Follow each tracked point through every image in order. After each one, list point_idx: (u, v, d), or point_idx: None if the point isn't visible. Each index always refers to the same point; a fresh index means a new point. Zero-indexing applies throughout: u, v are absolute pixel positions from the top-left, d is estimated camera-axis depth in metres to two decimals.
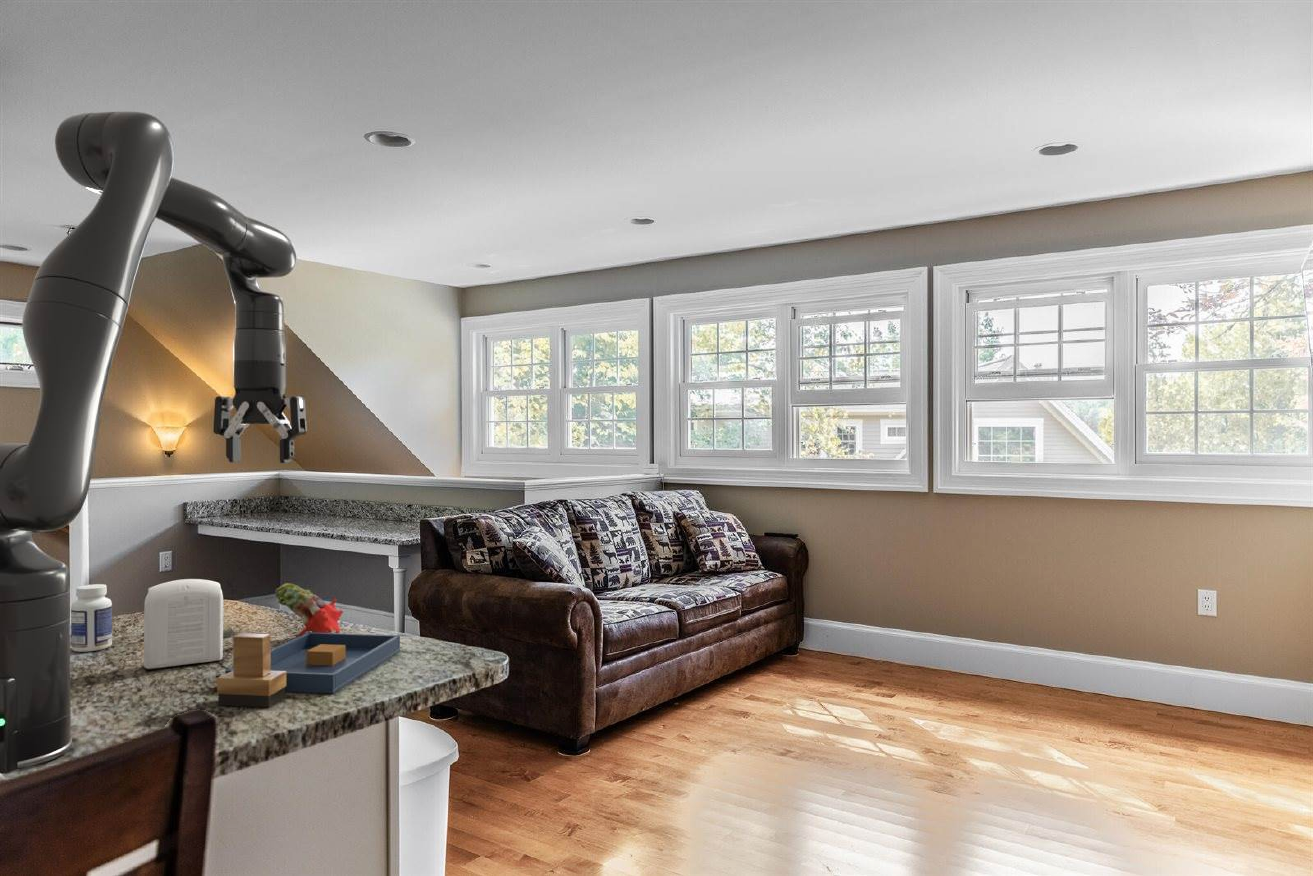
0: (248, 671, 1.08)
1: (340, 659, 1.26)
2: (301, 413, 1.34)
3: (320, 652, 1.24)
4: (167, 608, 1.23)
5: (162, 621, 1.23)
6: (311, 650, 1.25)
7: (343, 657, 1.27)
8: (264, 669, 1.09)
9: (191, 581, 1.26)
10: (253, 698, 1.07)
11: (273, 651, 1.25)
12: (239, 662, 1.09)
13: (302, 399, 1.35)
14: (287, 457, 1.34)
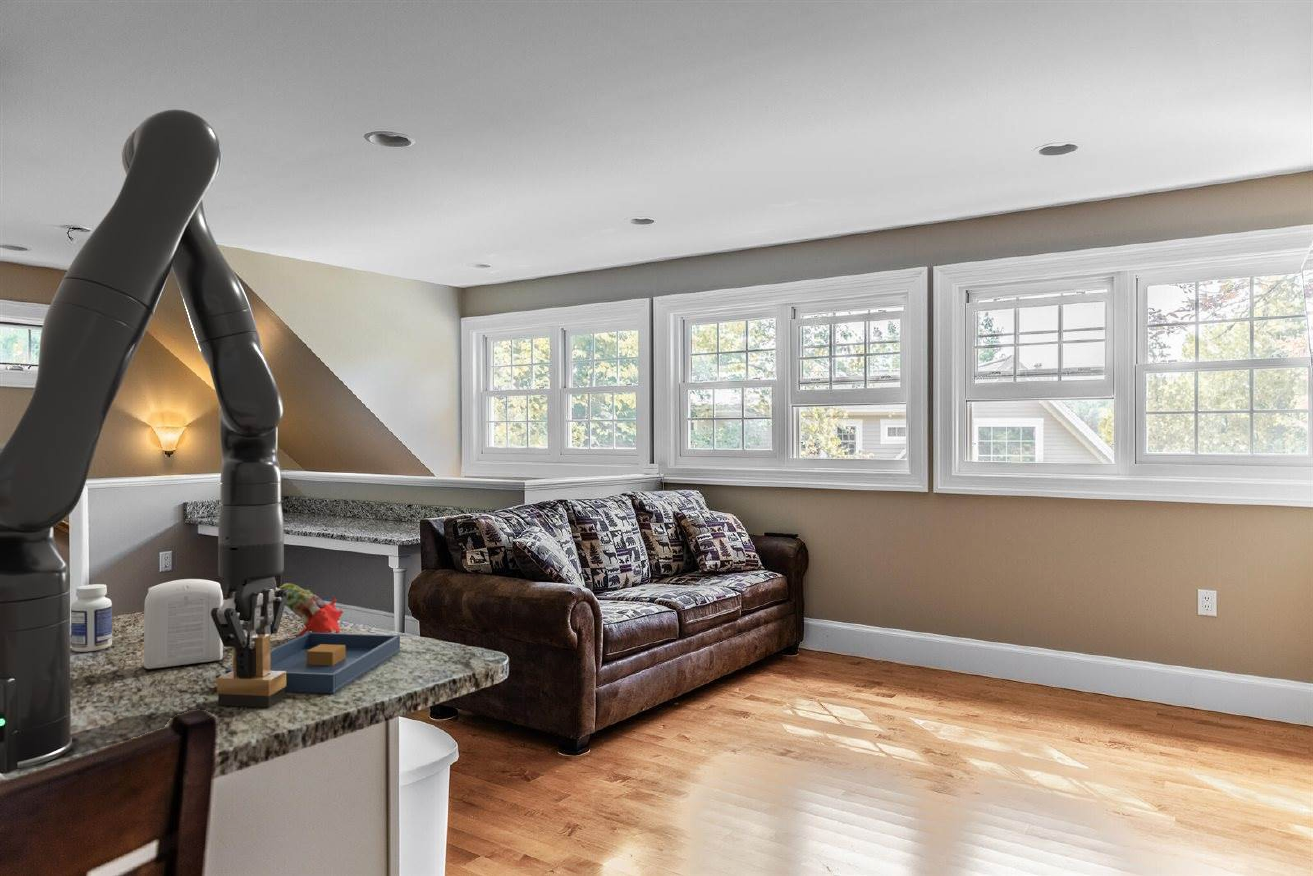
0: None
1: (340, 659, 1.26)
2: (224, 629, 1.04)
3: (320, 652, 1.24)
4: (167, 608, 1.23)
5: (162, 621, 1.23)
6: (311, 650, 1.25)
7: (343, 657, 1.27)
8: (264, 669, 1.09)
9: (191, 581, 1.26)
10: (253, 698, 1.07)
11: (273, 651, 1.25)
12: None
13: (224, 615, 1.03)
14: None
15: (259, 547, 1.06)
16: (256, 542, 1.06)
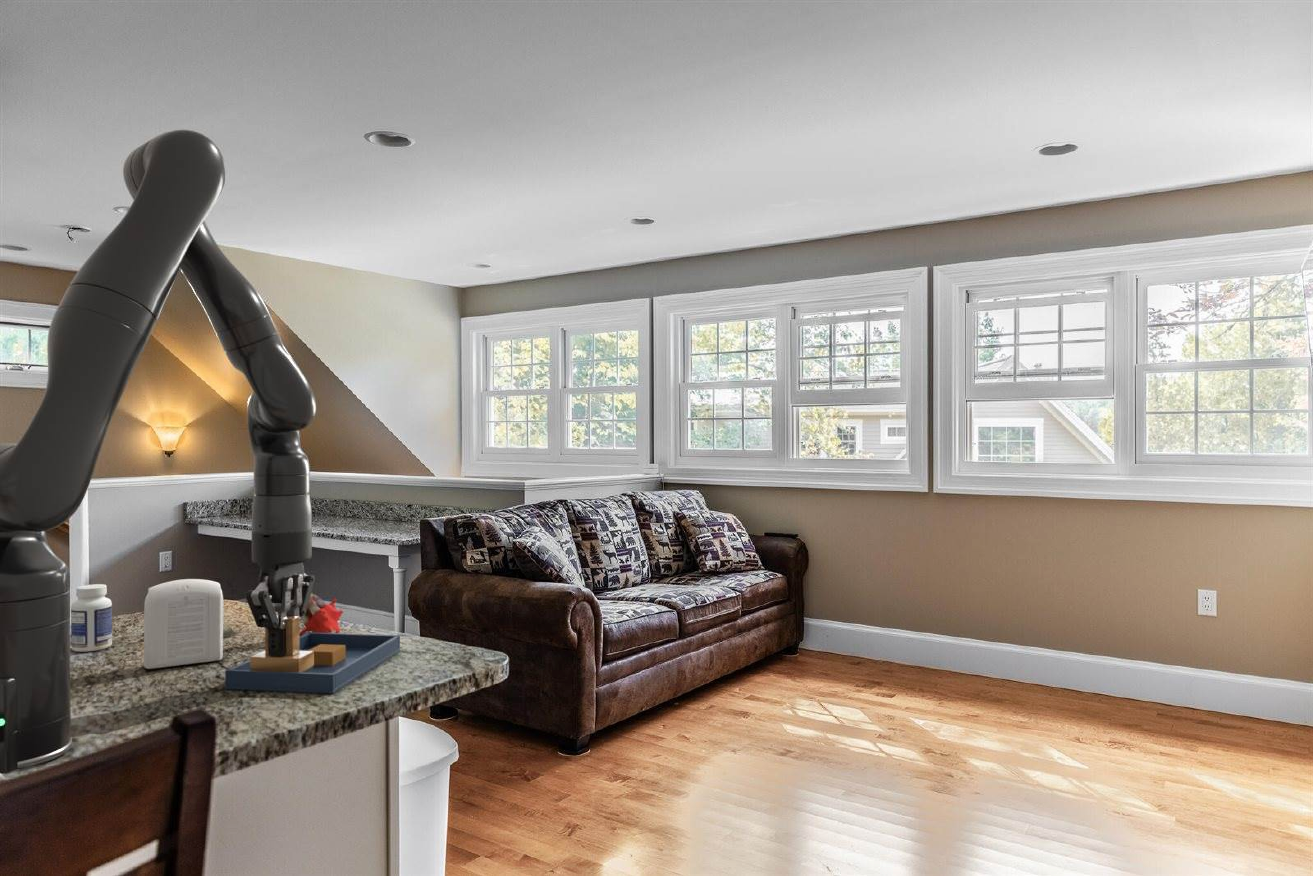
0: None
1: (340, 659, 1.26)
2: (258, 610, 1.12)
3: (320, 652, 1.24)
4: (167, 608, 1.23)
5: (162, 621, 1.23)
6: (311, 650, 1.25)
7: (343, 657, 1.27)
8: (294, 649, 1.16)
9: (191, 581, 1.26)
10: None
11: None
12: None
13: (258, 597, 1.11)
14: None
15: (290, 534, 1.14)
16: (287, 530, 1.14)
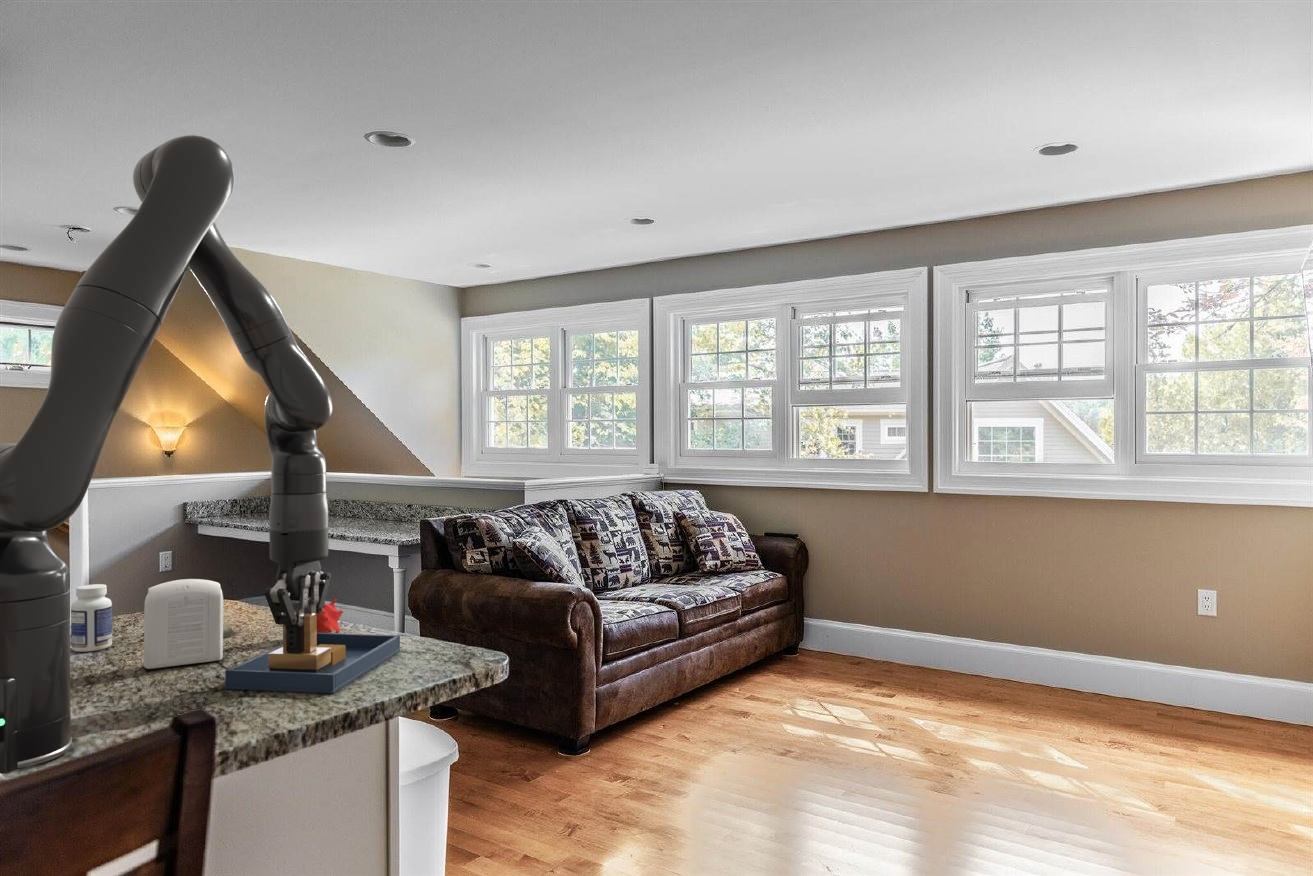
0: None
1: (340, 659, 1.26)
2: (277, 607, 1.13)
3: None
4: (167, 608, 1.23)
5: (162, 621, 1.23)
6: None
7: (343, 657, 1.27)
8: (311, 645, 1.18)
9: (191, 581, 1.26)
10: None
11: None
12: None
13: (277, 594, 1.12)
14: None
15: (307, 532, 1.15)
16: (305, 528, 1.15)
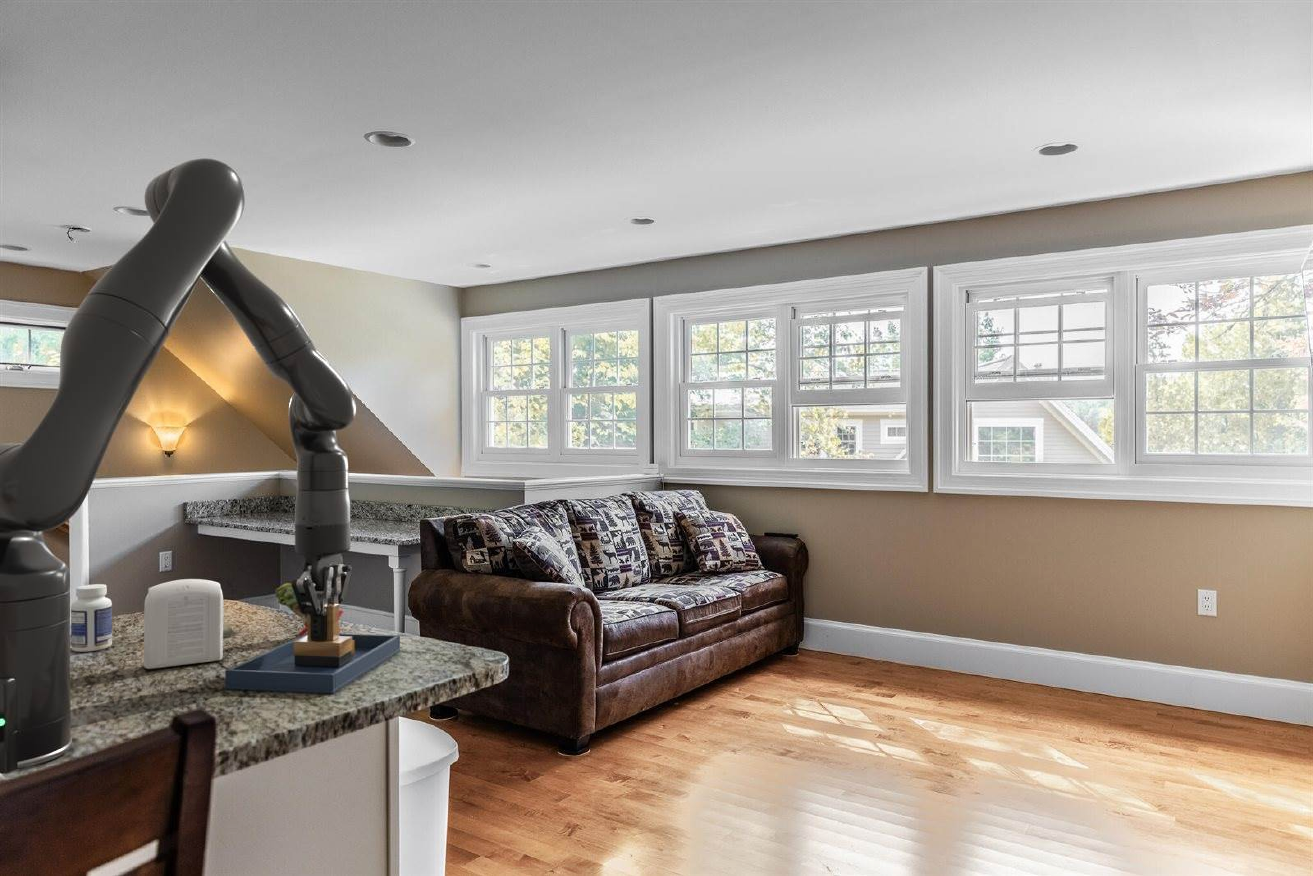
0: None
1: None
2: (302, 597, 1.20)
3: None
4: (167, 608, 1.23)
5: (162, 621, 1.23)
6: None
7: (352, 652, 1.30)
8: (334, 634, 1.24)
9: (191, 581, 1.26)
10: (325, 659, 1.23)
11: (273, 651, 1.25)
12: None
13: (303, 585, 1.19)
14: None
15: (331, 527, 1.22)
16: (329, 522, 1.22)
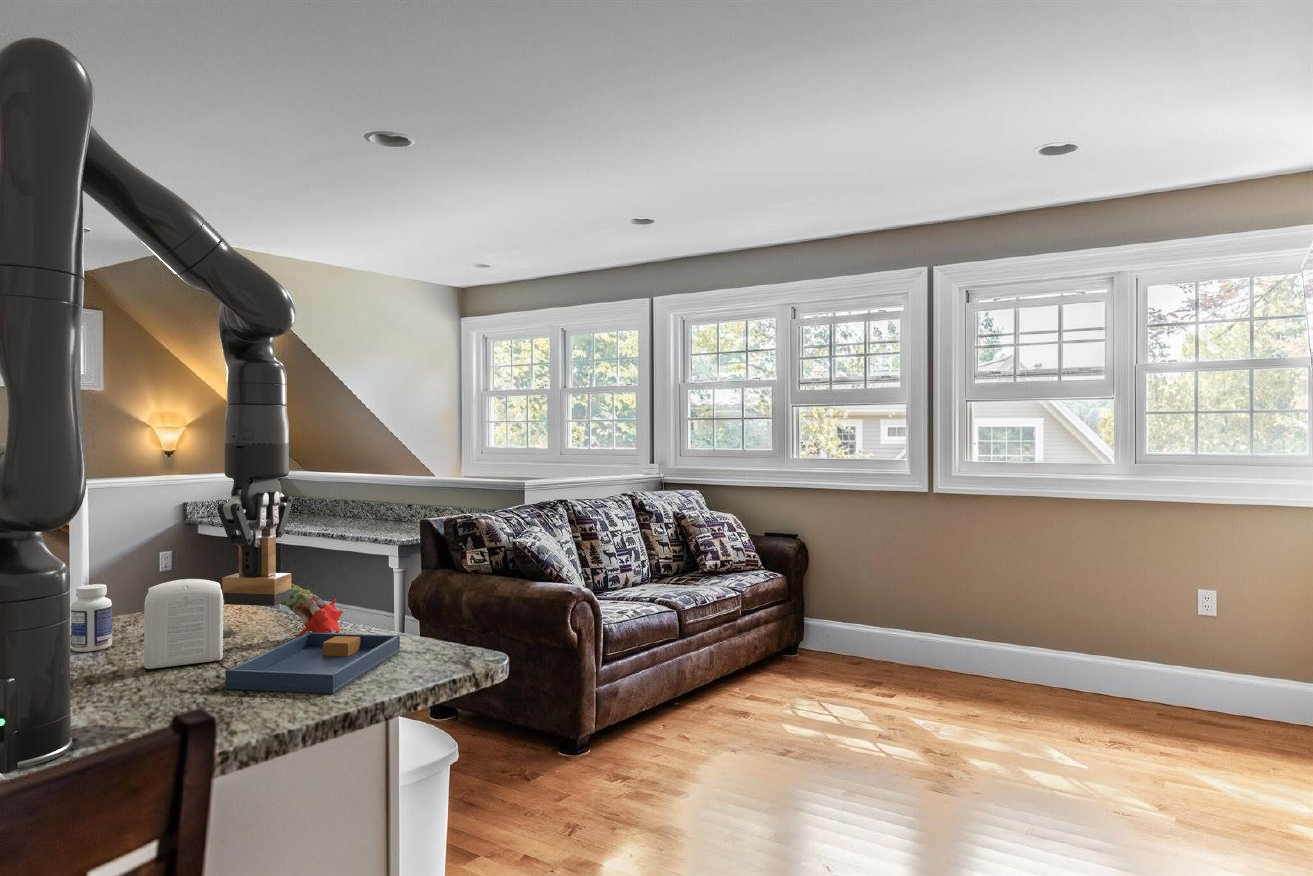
0: None
1: (355, 650, 1.31)
2: (231, 525, 1.05)
3: (336, 643, 1.29)
4: (167, 608, 1.23)
5: (162, 621, 1.23)
6: (327, 641, 1.30)
7: (358, 648, 1.32)
8: (269, 569, 1.10)
9: (191, 581, 1.26)
10: (258, 597, 1.08)
11: (273, 651, 1.25)
12: None
13: (230, 510, 1.04)
14: None
15: (265, 446, 1.07)
16: (262, 441, 1.07)
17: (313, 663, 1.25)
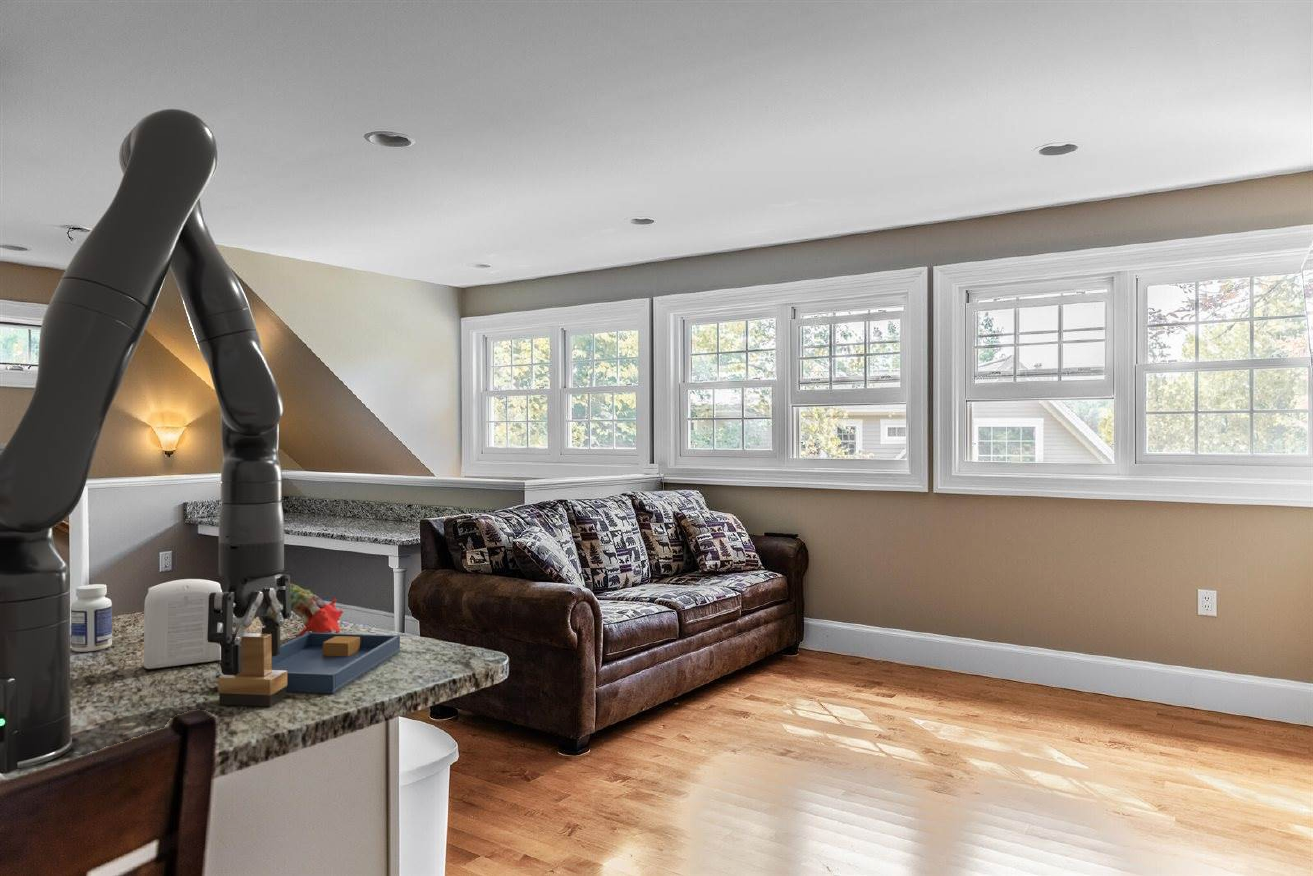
0: (249, 670, 1.09)
1: (355, 650, 1.31)
2: (216, 615, 1.02)
3: (336, 643, 1.29)
4: (167, 608, 1.23)
5: (162, 621, 1.23)
6: (327, 641, 1.30)
7: (358, 648, 1.32)
8: (265, 668, 1.09)
9: (191, 581, 1.26)
10: (254, 698, 1.08)
11: None
12: None
13: (222, 597, 1.02)
14: None
15: (259, 546, 1.06)
16: (256, 541, 1.06)
17: (313, 663, 1.25)
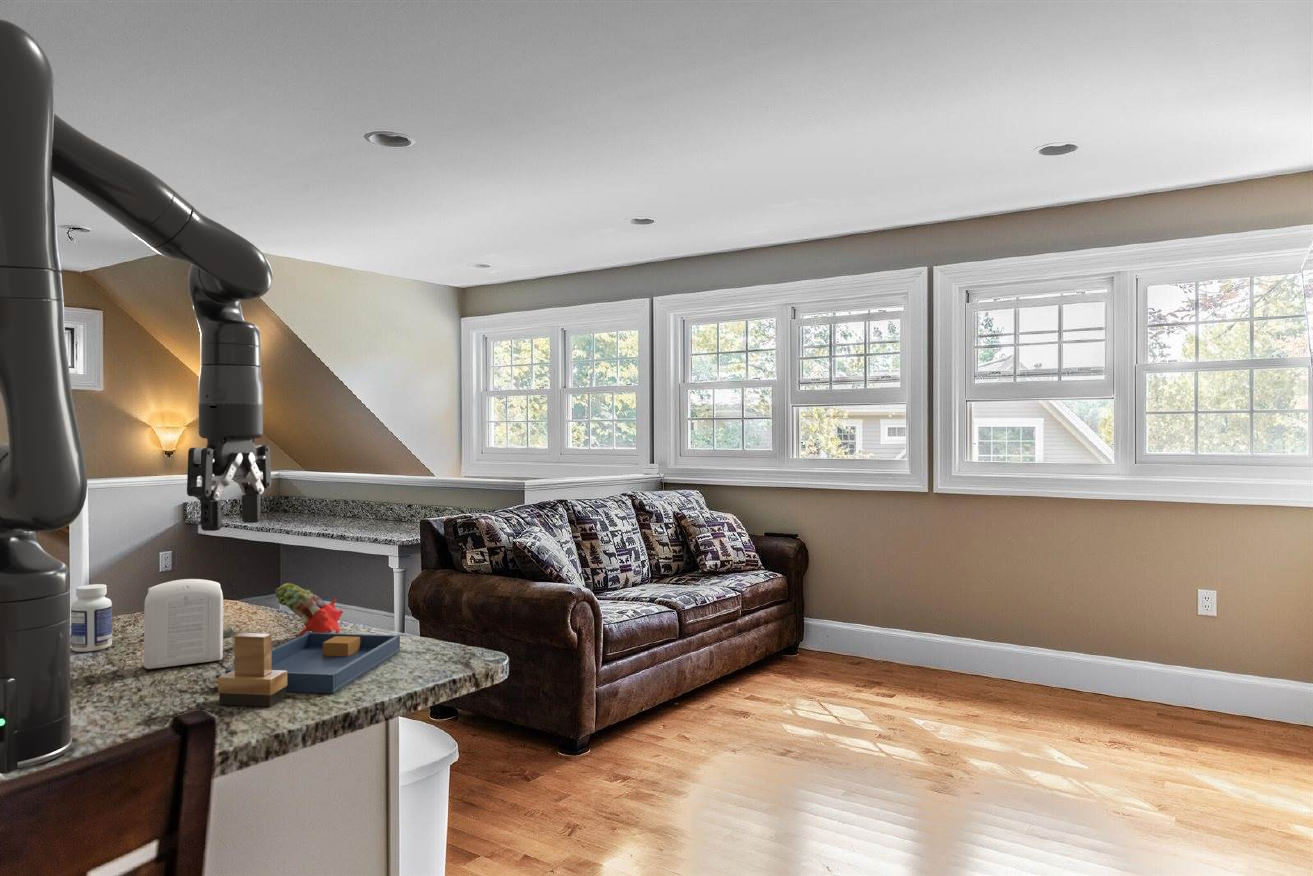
0: (249, 670, 1.09)
1: (355, 650, 1.31)
2: (195, 469, 1.04)
3: (336, 643, 1.29)
4: (167, 608, 1.23)
5: (162, 621, 1.23)
6: (327, 641, 1.30)
7: (358, 648, 1.32)
8: (265, 668, 1.09)
9: (191, 581, 1.26)
10: (254, 698, 1.08)
11: (273, 651, 1.25)
12: (240, 661, 1.09)
13: (201, 451, 1.05)
14: None
15: (238, 406, 1.08)
16: (235, 401, 1.08)
17: (313, 663, 1.25)
